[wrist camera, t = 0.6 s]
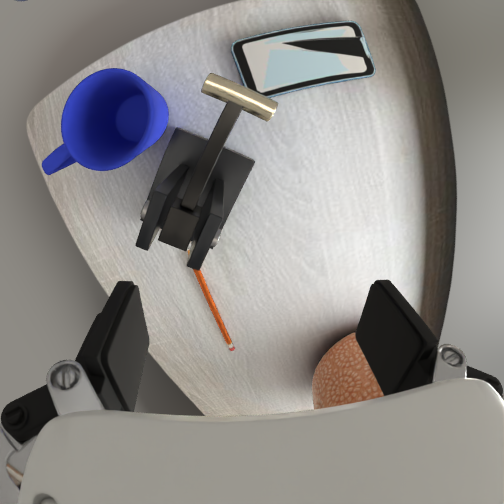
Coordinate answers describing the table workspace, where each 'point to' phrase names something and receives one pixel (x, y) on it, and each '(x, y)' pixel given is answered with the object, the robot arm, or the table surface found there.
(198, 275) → the pencil
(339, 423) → the robot arm
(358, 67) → the smartphone
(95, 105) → the mug
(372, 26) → the table surface
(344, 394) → the planter
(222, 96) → the lever
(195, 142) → the bracket
